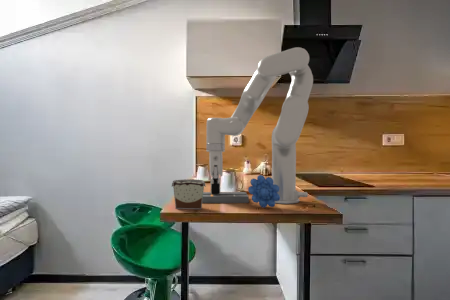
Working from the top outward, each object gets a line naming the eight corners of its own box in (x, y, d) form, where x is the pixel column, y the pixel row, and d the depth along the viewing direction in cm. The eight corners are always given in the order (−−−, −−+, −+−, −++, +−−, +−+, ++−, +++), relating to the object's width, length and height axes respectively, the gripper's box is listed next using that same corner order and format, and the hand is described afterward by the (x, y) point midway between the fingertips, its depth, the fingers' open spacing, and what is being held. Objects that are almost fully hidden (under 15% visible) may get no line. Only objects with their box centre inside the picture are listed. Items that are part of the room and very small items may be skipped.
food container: (207, 206, 132) (208, 179, 132) (205, 209, 126) (205, 181, 126) (175, 205, 133) (175, 179, 133) (171, 208, 127) (171, 180, 127)
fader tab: (220, 195, 147) (220, 177, 146) (220, 196, 144) (220, 178, 144) (210, 195, 147) (210, 177, 146) (210, 196, 144) (210, 178, 143)
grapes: (248, 209, 126) (248, 176, 126) (248, 206, 133) (248, 174, 132) (281, 210, 125) (281, 176, 125) (279, 206, 132) (279, 174, 132)
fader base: (245, 197, 152) (245, 191, 152) (248, 202, 140) (248, 196, 140) (201, 197, 151) (201, 191, 151) (200, 202, 139) (200, 196, 139)
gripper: (225, 148, 137) (225, 196, 137) (224, 147, 153) (223, 190, 153) (206, 148, 136) (205, 196, 137) (206, 147, 153) (206, 190, 153)
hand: (215, 192), depth 145 cm, fingers closed on fader tab, 3 cm apart
